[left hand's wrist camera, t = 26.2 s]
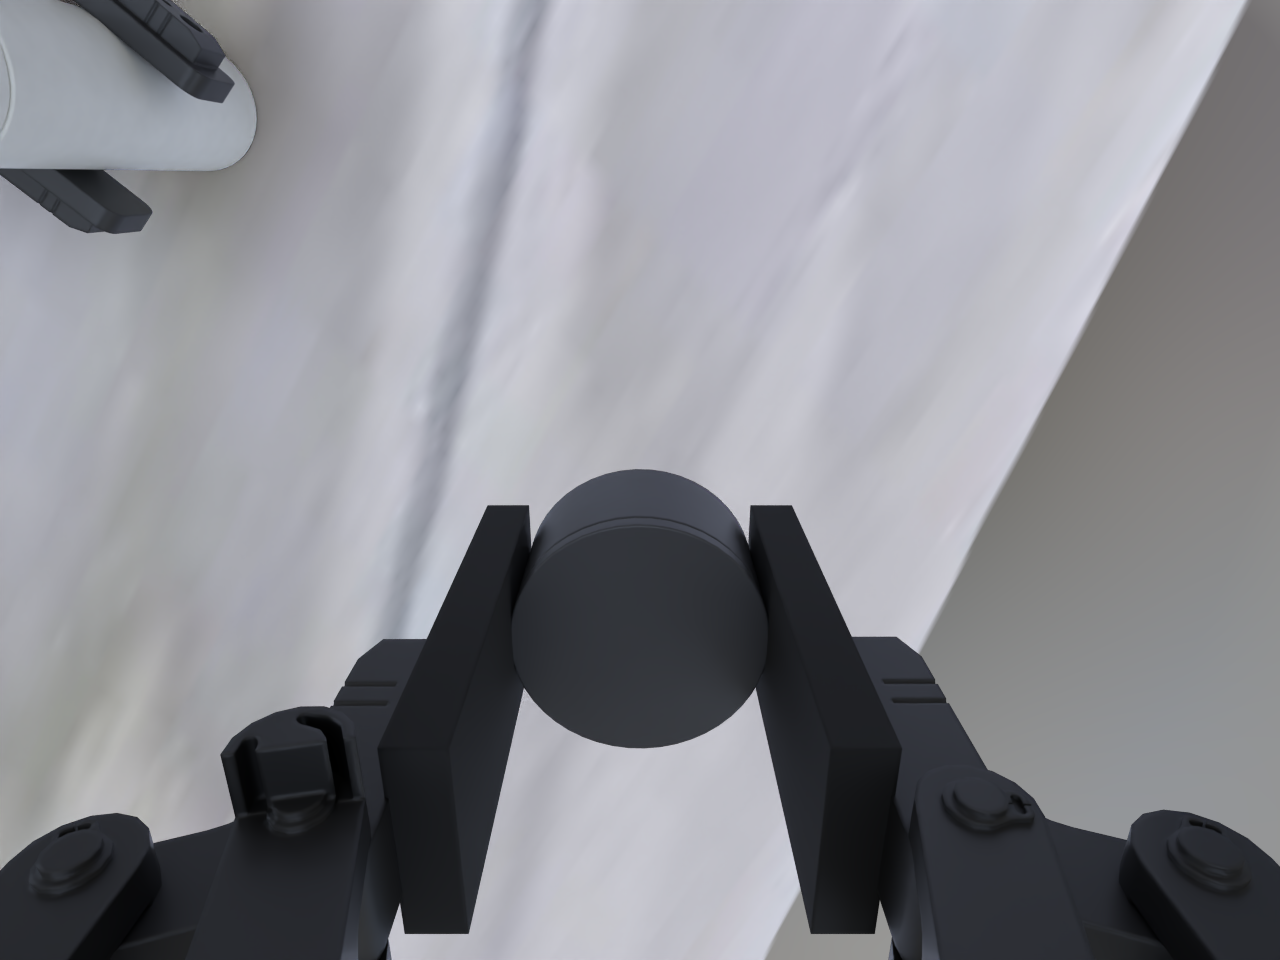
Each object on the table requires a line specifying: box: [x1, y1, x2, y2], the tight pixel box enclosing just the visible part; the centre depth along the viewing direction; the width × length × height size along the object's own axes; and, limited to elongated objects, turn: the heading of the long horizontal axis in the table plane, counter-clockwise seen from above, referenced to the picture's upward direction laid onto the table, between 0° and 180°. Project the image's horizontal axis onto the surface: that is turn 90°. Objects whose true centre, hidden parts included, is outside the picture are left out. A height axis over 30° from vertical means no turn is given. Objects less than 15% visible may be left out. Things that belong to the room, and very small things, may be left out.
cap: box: [511, 469, 769, 748], centre depth 14 cm, size 4×4×2 cm
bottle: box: [0, 0, 257, 171], centre depth 21 cm, size 4×4×18 cm
